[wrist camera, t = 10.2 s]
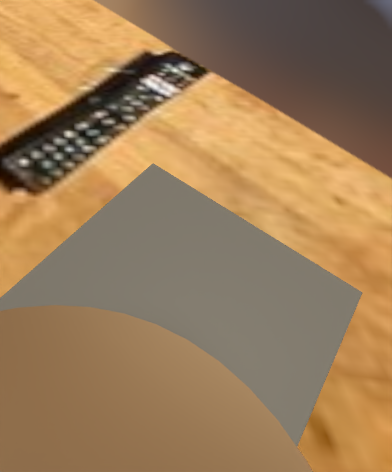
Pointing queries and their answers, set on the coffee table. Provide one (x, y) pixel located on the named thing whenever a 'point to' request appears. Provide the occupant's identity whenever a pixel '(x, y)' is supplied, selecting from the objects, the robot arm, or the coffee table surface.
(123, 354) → the peg
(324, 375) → the board
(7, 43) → the coffee table surface
